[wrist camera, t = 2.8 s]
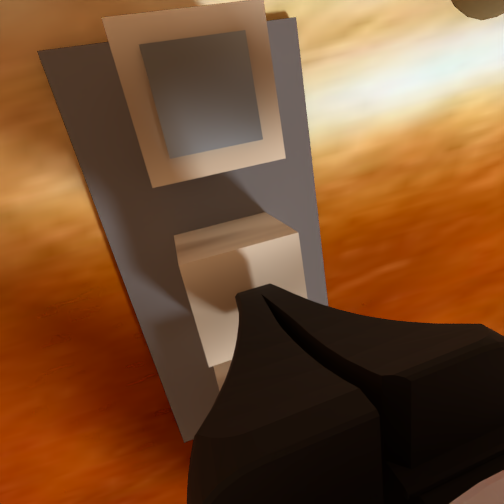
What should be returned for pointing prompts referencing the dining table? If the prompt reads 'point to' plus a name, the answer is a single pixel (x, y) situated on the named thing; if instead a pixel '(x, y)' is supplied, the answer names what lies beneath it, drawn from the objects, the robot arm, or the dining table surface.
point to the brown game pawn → (480, 8)
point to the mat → (181, 204)
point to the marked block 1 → (199, 88)
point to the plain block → (235, 273)
